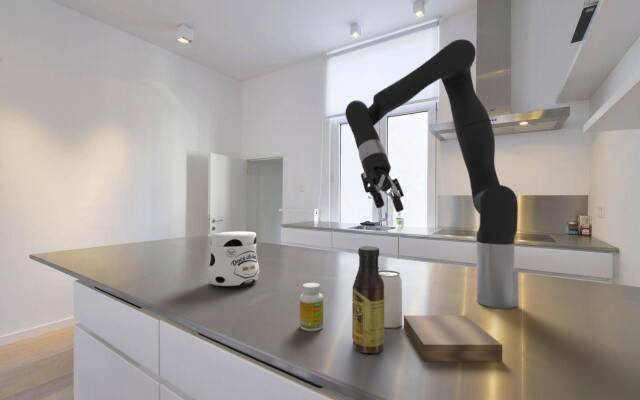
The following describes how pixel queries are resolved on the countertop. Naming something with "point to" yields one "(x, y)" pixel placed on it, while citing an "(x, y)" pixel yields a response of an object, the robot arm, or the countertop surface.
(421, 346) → the plinth
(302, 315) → the supplement bottle
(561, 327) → the countertop surface
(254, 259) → the milk container
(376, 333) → the sauce bottle
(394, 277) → the can
